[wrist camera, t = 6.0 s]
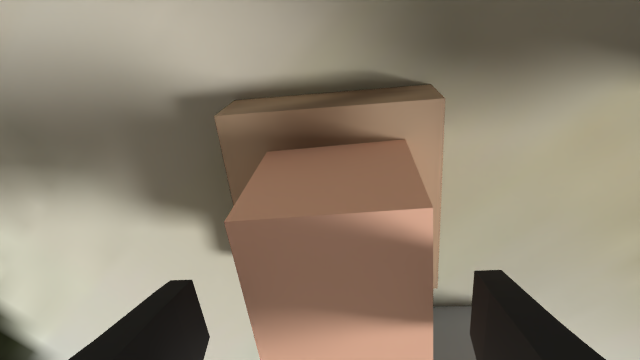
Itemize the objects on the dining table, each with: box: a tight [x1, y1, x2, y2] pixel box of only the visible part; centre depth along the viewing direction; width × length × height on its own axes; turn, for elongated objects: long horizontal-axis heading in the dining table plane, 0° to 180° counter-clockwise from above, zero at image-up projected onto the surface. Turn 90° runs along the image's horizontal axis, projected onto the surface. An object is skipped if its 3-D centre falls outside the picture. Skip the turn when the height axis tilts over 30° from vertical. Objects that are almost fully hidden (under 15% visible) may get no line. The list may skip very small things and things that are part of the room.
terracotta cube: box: [224, 139, 433, 360], centre depth 12 cm, size 5×5×5 cm
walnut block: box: [214, 84, 445, 288], centre depth 16 cm, size 8×8×3 cm
